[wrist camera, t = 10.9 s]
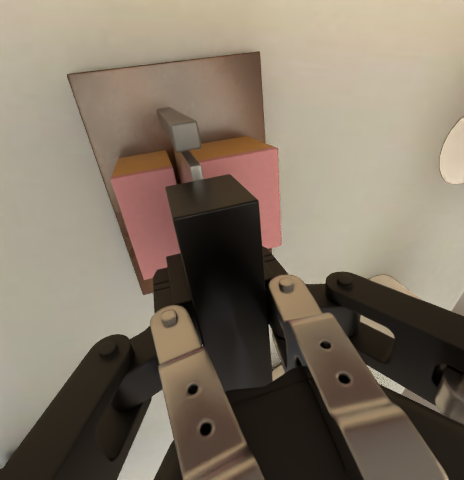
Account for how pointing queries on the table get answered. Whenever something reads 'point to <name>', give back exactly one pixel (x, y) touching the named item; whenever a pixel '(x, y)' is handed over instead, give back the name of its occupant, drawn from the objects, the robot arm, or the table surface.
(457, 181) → the wineglass
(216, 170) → the cake
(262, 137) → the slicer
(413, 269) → the table surface
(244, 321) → the black handled scraper
